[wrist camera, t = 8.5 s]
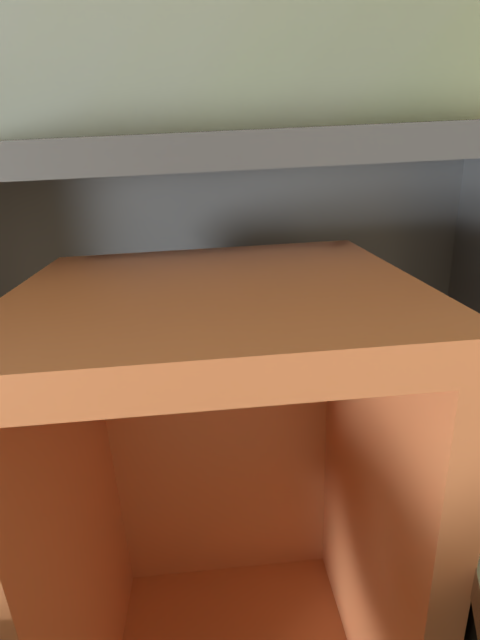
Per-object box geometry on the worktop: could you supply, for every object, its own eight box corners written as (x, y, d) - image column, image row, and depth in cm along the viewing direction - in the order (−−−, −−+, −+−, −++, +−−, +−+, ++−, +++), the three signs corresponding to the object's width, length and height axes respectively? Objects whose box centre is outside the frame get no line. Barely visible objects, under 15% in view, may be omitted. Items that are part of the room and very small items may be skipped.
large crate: (-105, 155, 10) (-281, 153, 7) (477, 128, 11) (618, 113, 7) (11, 549, 14) (-57, 687, 11) (429, 508, 15) (503, 621, 11)
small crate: (59, 257, 8) (-127, 385, 4) (347, 239, 9) (520, 335, 4) (118, 573, 11) (57, 878, 6) (335, 551, 11) (428, 826, 7)
